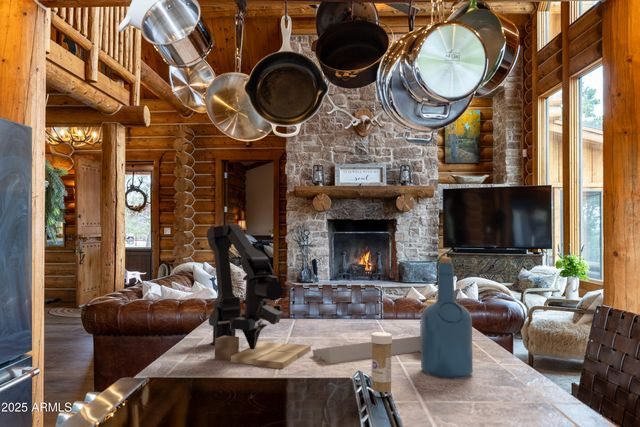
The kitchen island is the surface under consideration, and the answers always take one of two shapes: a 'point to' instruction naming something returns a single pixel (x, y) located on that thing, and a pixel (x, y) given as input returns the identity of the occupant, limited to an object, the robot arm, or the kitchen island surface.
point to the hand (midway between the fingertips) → (252, 348)
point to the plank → (255, 352)
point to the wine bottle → (446, 331)
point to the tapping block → (226, 347)
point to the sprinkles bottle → (381, 361)
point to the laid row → (283, 355)
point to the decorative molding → (365, 350)
